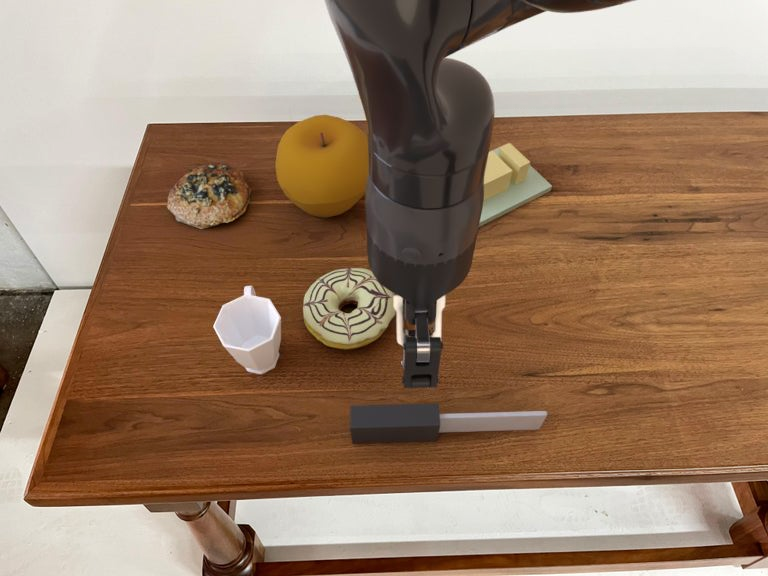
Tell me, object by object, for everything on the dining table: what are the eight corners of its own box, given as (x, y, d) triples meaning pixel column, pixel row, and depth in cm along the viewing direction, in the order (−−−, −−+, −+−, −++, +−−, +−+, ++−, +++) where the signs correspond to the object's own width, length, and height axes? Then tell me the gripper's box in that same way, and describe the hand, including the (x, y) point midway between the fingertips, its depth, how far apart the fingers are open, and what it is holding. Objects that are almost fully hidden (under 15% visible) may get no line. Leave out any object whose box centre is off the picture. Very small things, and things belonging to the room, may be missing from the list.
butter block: (508, 189, 83) (513, 170, 80) (467, 209, 80) (470, 191, 78) (488, 169, 85) (492, 150, 82) (448, 188, 83) (450, 169, 80)
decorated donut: (412, 312, 73) (413, 294, 69) (351, 372, 68) (350, 357, 65) (348, 266, 76) (347, 247, 73) (287, 320, 72) (283, 303, 69)
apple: (344, 153, 88) (340, 88, 78) (393, 209, 82) (395, 145, 72) (266, 188, 84) (250, 124, 75) (311, 250, 78) (301, 188, 68)
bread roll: (226, 159, 87) (220, 136, 82) (268, 212, 83) (263, 190, 79) (156, 196, 83) (145, 173, 79) (197, 252, 80) (187, 232, 75)
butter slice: (525, 180, 83) (530, 162, 81) (515, 185, 83) (520, 167, 80) (505, 161, 86) (509, 142, 83) (495, 165, 85) (499, 147, 82)
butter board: (550, 191, 84) (552, 185, 83) (469, 232, 80) (470, 227, 79) (506, 148, 88) (507, 143, 88) (427, 185, 84) (427, 180, 84)
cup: (230, 389, 67) (213, 356, 60) (228, 314, 72) (212, 275, 66) (293, 380, 68) (283, 346, 61) (286, 306, 73) (276, 267, 66)
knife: (540, 438, 64) (550, 422, 60) (352, 443, 63) (350, 428, 60) (536, 416, 65) (545, 400, 61) (352, 422, 65) (350, 405, 61)
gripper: (492, 306, 36) (463, 413, 49) (468, 141, 44) (449, 272, 57) (366, 308, 36) (371, 414, 49) (365, 143, 44) (370, 273, 57)
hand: (413, 337), depth 53 cm, fingers open, 8 cm apart
